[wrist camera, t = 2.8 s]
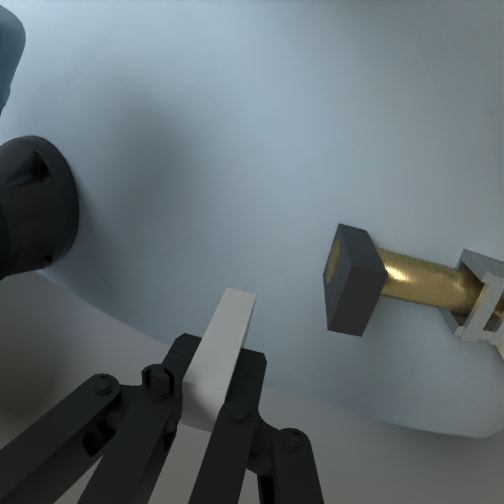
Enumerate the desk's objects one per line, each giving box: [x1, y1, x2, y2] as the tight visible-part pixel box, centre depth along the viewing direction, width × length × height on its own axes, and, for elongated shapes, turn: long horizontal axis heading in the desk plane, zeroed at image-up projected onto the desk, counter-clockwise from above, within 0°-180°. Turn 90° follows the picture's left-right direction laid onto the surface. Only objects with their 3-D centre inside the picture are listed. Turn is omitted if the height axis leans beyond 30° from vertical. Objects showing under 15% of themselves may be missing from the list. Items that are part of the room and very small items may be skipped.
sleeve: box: [438, 249, 504, 346], centre depth 23 cm, size 7×6×5 cm
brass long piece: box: [323, 224, 504, 337], centre depth 22 cm, size 18×5×8 cm, turn 79°
